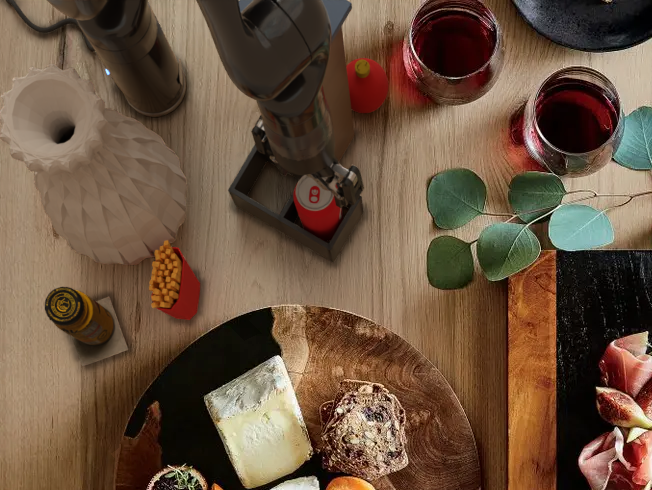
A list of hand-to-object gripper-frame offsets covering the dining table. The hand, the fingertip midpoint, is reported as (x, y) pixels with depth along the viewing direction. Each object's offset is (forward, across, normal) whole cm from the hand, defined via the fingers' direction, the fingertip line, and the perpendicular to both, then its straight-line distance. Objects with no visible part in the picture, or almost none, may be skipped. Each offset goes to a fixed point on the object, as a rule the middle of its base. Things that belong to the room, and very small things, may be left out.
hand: (314, 184), depth 108 cm
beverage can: (+14, 0, 0) cm, 14 cm away
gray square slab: (-16, +7, -9) cm, 20 cm away
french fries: (+14, +12, +20) cm, 27 cm away
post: (+14, +7, -9) cm, 18 cm away
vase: (+14, +25, +13) cm, 32 cm away
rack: (+14, +4, 0) cm, 15 cm away
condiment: (+14, +21, +31) cm, 40 cm away
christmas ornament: (+14, +4, -19) cm, 24 cm away
